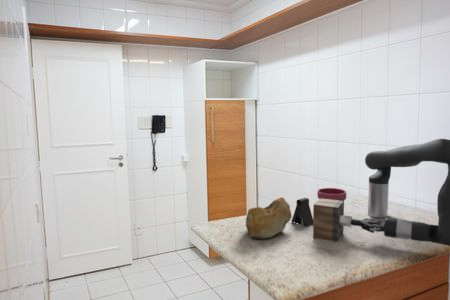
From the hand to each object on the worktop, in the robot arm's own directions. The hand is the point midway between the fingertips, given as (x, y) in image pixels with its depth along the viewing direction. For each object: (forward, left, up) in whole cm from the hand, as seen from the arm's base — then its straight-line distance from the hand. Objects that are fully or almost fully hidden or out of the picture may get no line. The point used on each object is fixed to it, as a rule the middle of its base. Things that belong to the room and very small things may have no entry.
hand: (351, 221), depth 138 cm
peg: (0, -5, -2) cm, 5 cm away
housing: (0, -9, -8) cm, 12 cm away
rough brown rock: (+9, -35, -8) cm, 37 cm away
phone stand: (-11, -24, -8) cm, 28 cm away
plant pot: (-31, -15, -8) cm, 35 cm away
